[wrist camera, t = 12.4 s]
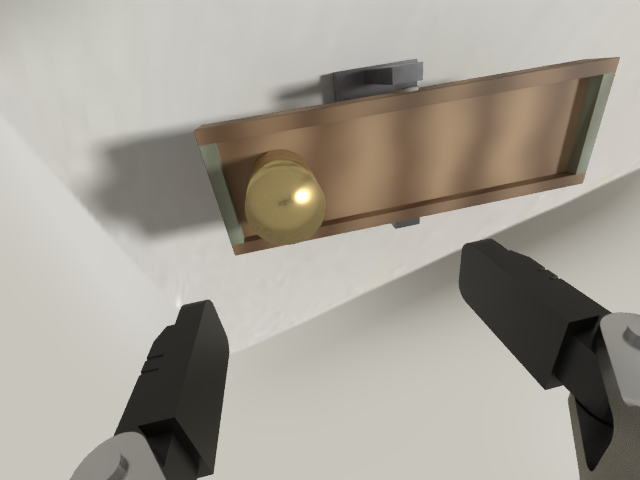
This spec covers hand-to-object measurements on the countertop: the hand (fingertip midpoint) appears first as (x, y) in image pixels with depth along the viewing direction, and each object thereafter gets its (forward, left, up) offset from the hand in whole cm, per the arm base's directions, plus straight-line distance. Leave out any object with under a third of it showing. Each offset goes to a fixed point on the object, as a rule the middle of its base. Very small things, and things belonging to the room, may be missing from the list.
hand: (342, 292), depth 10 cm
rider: (+1, +1, -16) cm, 16 cm away
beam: (-10, +1, -17) cm, 20 cm away
